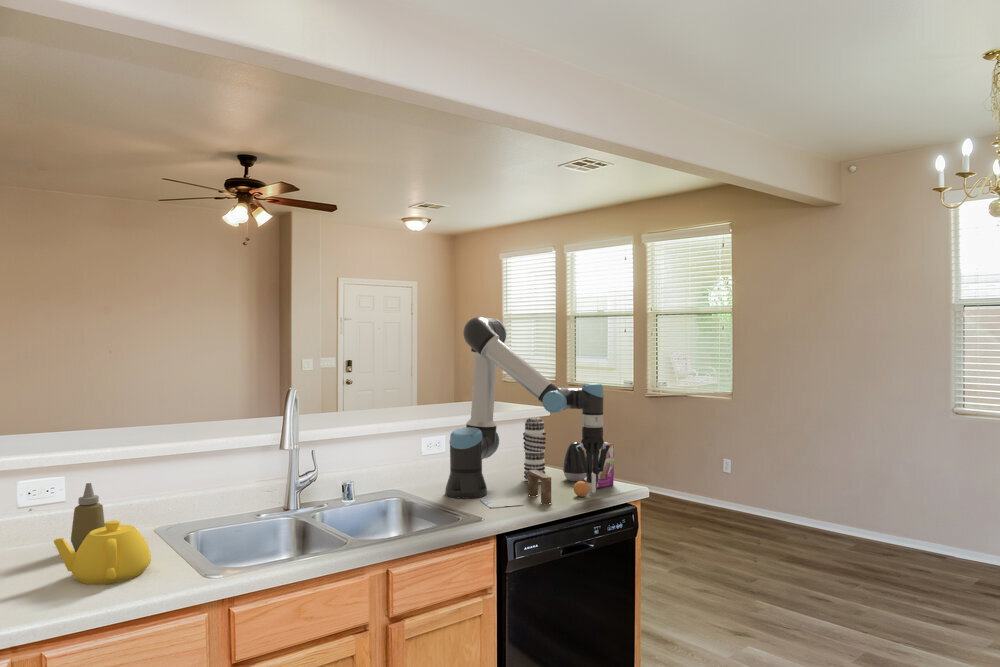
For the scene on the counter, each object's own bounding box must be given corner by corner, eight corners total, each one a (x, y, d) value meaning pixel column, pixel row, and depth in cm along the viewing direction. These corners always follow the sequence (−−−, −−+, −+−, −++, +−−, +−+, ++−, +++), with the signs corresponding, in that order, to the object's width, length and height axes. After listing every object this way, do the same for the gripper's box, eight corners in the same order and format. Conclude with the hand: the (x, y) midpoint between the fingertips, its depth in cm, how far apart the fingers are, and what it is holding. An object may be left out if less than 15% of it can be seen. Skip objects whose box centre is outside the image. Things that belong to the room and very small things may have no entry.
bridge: (543, 505, 228) (543, 477, 228) (528, 495, 241) (528, 470, 242) (551, 504, 229) (551, 477, 229) (536, 495, 242) (536, 469, 243)
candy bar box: (596, 489, 251) (595, 445, 251) (585, 487, 255) (585, 444, 255) (614, 485, 259) (614, 442, 259) (604, 483, 262) (604, 441, 262)
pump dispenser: (588, 477, 273) (587, 440, 274) (588, 482, 263) (588, 444, 263) (562, 477, 274) (562, 439, 275) (562, 482, 264) (562, 443, 264)
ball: (571, 495, 242) (571, 480, 242) (585, 494, 243) (584, 479, 244) (577, 498, 237) (577, 483, 237) (591, 497, 238) (591, 482, 238)
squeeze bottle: (66, 557, 174) (66, 487, 174) (76, 547, 182) (76, 481, 182) (101, 554, 177) (101, 485, 177) (109, 545, 184) (109, 479, 185)
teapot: (150, 559, 172) (150, 509, 172) (151, 582, 156) (151, 527, 156) (57, 572, 163) (58, 519, 163) (48, 598, 146) (48, 539, 146)
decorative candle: (535, 477, 274) (535, 416, 274) (551, 481, 267) (550, 418, 267) (518, 480, 268) (518, 417, 269) (533, 484, 261) (533, 419, 261)
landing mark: (479, 500, 235) (479, 499, 235) (512, 497, 238) (512, 497, 238) (490, 508, 223) (490, 507, 223) (523, 505, 227) (523, 505, 227)
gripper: (580, 428, 236) (580, 495, 236) (613, 426, 241) (613, 492, 240) (571, 425, 243) (571, 490, 243) (604, 424, 248) (603, 488, 247)
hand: (592, 491), depth 242 cm, fingers closed
